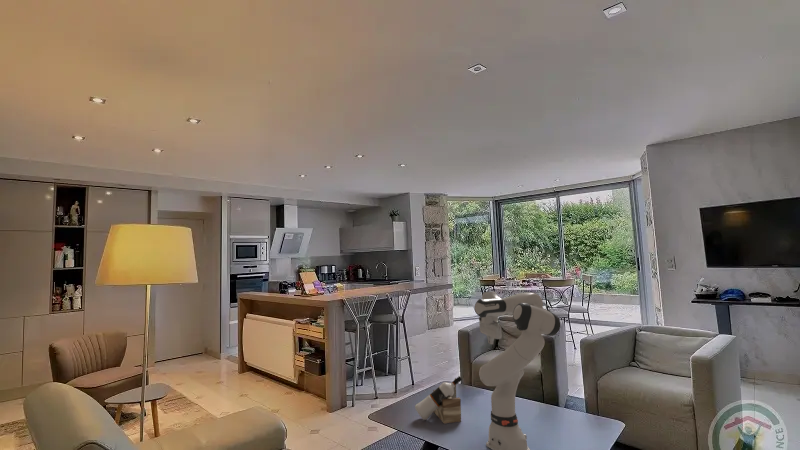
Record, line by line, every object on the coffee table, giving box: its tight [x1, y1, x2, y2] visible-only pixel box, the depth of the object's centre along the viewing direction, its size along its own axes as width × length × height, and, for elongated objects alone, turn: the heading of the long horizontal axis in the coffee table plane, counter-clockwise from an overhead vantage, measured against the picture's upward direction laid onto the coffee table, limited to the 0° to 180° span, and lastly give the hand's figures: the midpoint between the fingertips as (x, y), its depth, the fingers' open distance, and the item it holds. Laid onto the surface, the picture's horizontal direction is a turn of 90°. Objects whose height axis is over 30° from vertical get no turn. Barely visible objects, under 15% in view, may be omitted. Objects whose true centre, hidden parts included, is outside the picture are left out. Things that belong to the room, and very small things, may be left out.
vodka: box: [414, 375, 463, 421], centre depth 212 cm, size 9×9×30 cm
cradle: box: [432, 389, 462, 424], centre depth 215 cm, size 17×10×12 cm, turn 14°
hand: (490, 343), depth 220 cm, fingers closed
